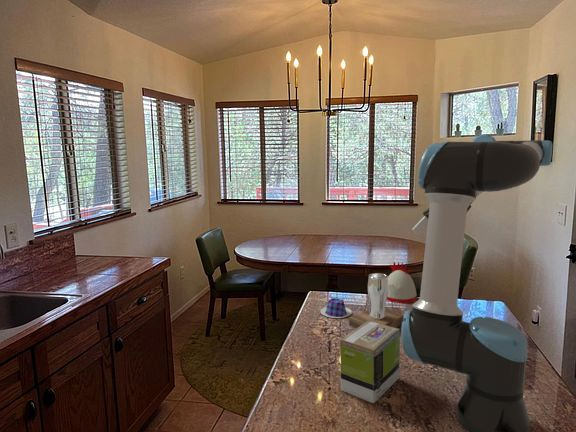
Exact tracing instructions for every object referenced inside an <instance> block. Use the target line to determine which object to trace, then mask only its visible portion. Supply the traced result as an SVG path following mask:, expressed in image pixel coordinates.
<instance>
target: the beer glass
mask: <svg viewBox="0 0 576 432" xmlns="http://www.w3.org/2000/svg"><path fill="white" fill-rule="evenodd" d="M388 276H389V275H387V274H384V273H380V272H374V273H370V274H368V278H367V279H368V280H367V281H368V282H367V294H368V299H369V300H368V301H369V309H370V311H369V317H370V318H371V319H374V320H383V319H385V318H386V313H385V309H386V303H387V300H386V299H387V294H388Z"/></svg>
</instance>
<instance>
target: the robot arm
mask: <svg viewBox="0 0 576 432" xmlns="http://www.w3.org/2000/svg"><path fill="white" fill-rule="evenodd" d="M424 150H425V151H424V152H423V153H422V157H421V159H420V163H419V166H418V174H417V177H418V180H417V183H418V186H419V187H420V189H422V190H424V197H425V198H426V199H427V200H428V202H429V208H427V209H426V210H424V211H423V212H422V214H423V217H422V218H421V219H420V220H419V221H418V223H416V224H415V225H414V227H413V228H412V229H411V231H413V232H414V234H415V235H419V234H420V233H422V231H423V230H424V229H425V228H427V229H426V235H425V236H426V238H425V239H426V240H425V247H424V256H423V257H424V258H423V264H422V265H423V266H422V275H421V284H420V291H419V292H420V293H419V298H418V300H416V301H414V302H413V303H412V307H411V308H412V309H409V310H407V311H405V313H404V314H403V315H404V317H403V322H402V325H401V328H400V330H401V331H400V334H401V336H400V337H401V338H400V339H401V345H402V349H403V351H404V353H405V356H407V357H408V358H409V359H410V360H413V361H417V362H419V363H421V364H423V365H428V366H429V365H430V366H433V367H437V368H440V369H444V370H449V371H451V372H456V373H459V374H463V375H466V383H465V385H464V388H463V391H462V392H461V395H460V396H459V398H458V401H457V404H456V413H455V414H456V419H457V421H458V422H459V423H460V425H461V426H462V427H463V428H464V429H465V430H467V431H468V432H530V427H531V421H530V417H529V414H528V413H529V412H528V409H527V406H526V402H525V400H524V392H525V391H524V389H525V381H526V380H525V379H526V378H525V377H526V367H527V365H526V364H527V361H528V357H529V354H528V340H527V338H526V336H525V334H524V333H523V331H521V330H520V329H518V328H517V327H516V326H514V325H512V324H510V323H509V322H507V321H504V320H501V319H497V318H493V317H489V316H485V317H483V316H476V317H474V318H472V319H471V320H470V322H467V321H463V316H464V313H463V311H462V310H461V309H460V307H459V306H458V297H459V290H460V289H459V288H460V279H461V270H462V261H463V260H462V259H463V251H464V240H465V233H466V232H465V231H466V225H467V224H466V223H467V222H466V221H467V213H468V212H469V210H470V209H471V208H472V203H473V202H474V201H475V200H476V198H478V197H479V196H480V195H481V194H483V192H487V193H488V192H489V193H490V192H501V191H507V190H509V189H513V188H517V187H519V186H521V185H523V184H526V183H527V182H529V181H531V180H532V179H534V177H535V176H536V175H537V174H538V171H539V169H540V167H544V166H545V167H546V166H549V165H551V163H552V162H551V161H552V155H553V142H552V141H551V140H545V139H544V140H542V139H536V140H496V138H495V137H494V136H492V135H490V134H480V135H478V136H475V137H474V138H473V139H472V141H445V142H434V143H431V144H430V145H429V146H428V147H426V149H424Z"/></svg>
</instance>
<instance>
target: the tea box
mask: <svg viewBox="0 0 576 432" xmlns="http://www.w3.org/2000/svg"><path fill="white" fill-rule="evenodd" d="M400 330H401V328H397V327H395V328H394V327H390V326H386V325H382V324H379V323H375V322H371V321H367V322H365V323H364V324H362V325H361V326H360V327H358V328H355V329H354V330H352V331H351V332H349V333H348V334H347V335H345V336H344V337H342V338H341V339H340V390H341V391H342V392H343V393H346V394H350V395H351V396H354V397H357V398H358V399H360V400H363V401H366V402H369V403H371V404H375V403H376V402H377V401H378V400H380V398H381V396H383V395H384V394H385V393H386V392H387V391H388V390H389V389H390V388H391V387H392V386H393V385H394V383H396V382H397V381H398V380H399V378H400V359H401V357H400V354H401V352H400V351H401V349H400V347H401V345H400V344H401V342H400V341H401V340H400V339H401V338H400V337H401V336H400V334H401V331H400Z"/></svg>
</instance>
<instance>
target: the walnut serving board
mask: <svg viewBox="0 0 576 432" xmlns="http://www.w3.org/2000/svg"><path fill="white" fill-rule="evenodd" d="M369 311H370V308H369V309H366V310H365V311H361V312H359V313H356V314H354V315H350V316H348V325H349V327H352V328H355V329H357V328H358V327H360V326H361V325H362V324H364V323H365V322H367V321H371V322H375V323H379V324H382V325H386V326H390V327H394V328H397V327H399V326H402V322H403V317H404V315H405V314H402V313H399V312H396V311H392V310H390V309H387V308H385V313H386V318H385V319H383V320H374V319H371V318H370V317H369Z"/></svg>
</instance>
